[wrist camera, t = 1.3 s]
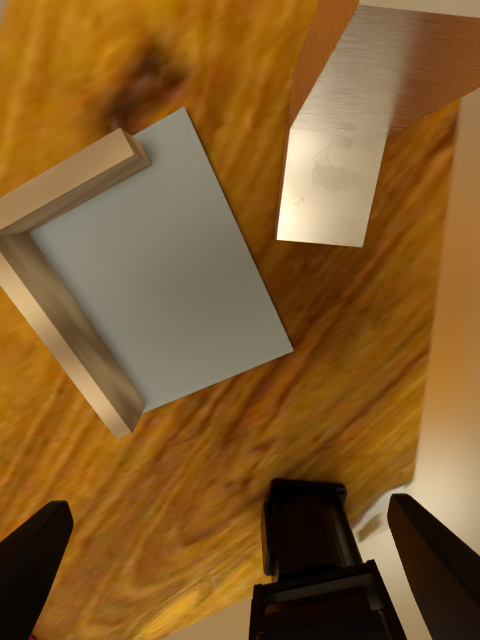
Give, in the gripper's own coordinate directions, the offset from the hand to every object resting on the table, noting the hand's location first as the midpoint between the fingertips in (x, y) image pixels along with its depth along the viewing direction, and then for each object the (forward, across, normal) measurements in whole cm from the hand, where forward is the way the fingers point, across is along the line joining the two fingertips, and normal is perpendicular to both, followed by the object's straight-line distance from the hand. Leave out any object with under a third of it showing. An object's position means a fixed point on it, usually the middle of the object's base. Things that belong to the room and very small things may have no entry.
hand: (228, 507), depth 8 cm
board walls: (+13, +6, -3) cm, 15 cm away
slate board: (+13, +5, -3) cm, 15 cm away
